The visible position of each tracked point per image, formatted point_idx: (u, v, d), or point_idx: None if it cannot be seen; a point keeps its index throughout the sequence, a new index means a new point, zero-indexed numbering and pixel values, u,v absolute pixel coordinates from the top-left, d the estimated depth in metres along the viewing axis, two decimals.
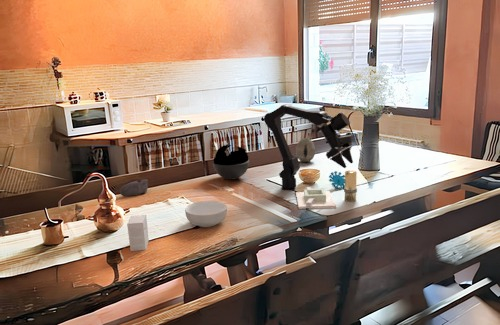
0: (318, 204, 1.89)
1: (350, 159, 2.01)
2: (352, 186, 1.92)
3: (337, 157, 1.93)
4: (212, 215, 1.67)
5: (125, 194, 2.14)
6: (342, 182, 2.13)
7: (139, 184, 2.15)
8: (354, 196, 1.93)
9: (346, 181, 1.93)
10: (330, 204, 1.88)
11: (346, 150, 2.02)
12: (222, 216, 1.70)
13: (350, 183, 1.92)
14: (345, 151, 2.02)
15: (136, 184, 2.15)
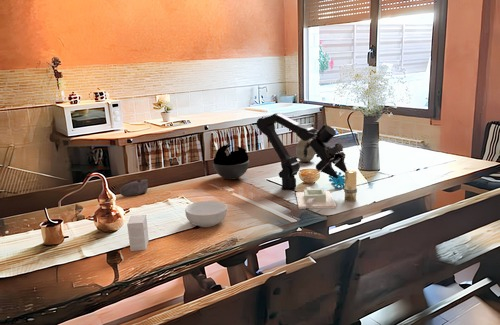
0: (318, 204, 1.89)
1: (345, 169, 1.99)
2: (352, 186, 1.92)
3: (327, 168, 1.93)
4: (212, 215, 1.67)
5: (125, 194, 2.14)
6: (342, 182, 2.13)
7: (139, 184, 2.15)
8: (354, 196, 1.93)
9: (346, 181, 1.93)
10: (330, 204, 1.88)
11: (339, 161, 2.01)
12: (222, 216, 1.70)
13: (350, 183, 1.92)
14: (339, 162, 2.01)
15: (136, 184, 2.15)
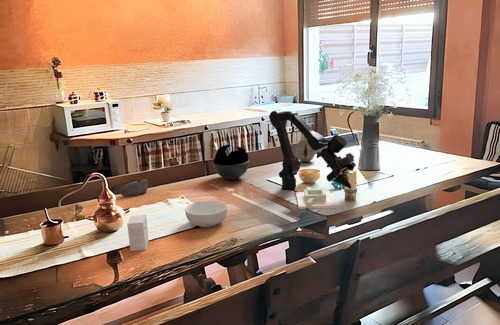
0: (318, 204, 1.89)
1: None
2: (352, 186, 1.92)
3: (340, 178, 1.92)
4: (212, 215, 1.67)
5: (125, 194, 2.14)
6: None
7: (139, 184, 2.15)
8: (354, 196, 1.93)
9: None
10: (330, 204, 1.88)
11: None
12: (222, 216, 1.70)
13: (350, 183, 1.92)
14: None
15: (136, 184, 2.15)
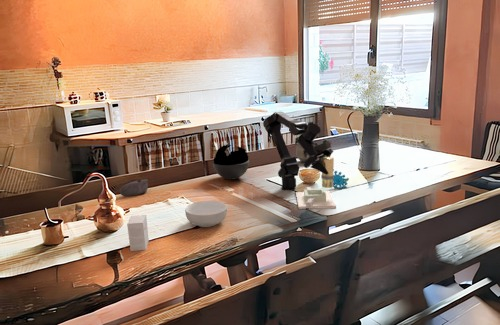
0: (318, 204, 1.89)
1: None
2: (329, 172, 1.91)
3: (317, 164, 1.91)
4: (212, 215, 1.67)
5: (125, 194, 2.14)
6: (341, 182, 2.13)
7: (139, 184, 2.15)
8: (331, 182, 1.93)
9: None
10: (330, 204, 1.88)
11: None
12: (222, 216, 1.70)
13: (327, 169, 1.91)
14: None
15: (136, 184, 2.15)
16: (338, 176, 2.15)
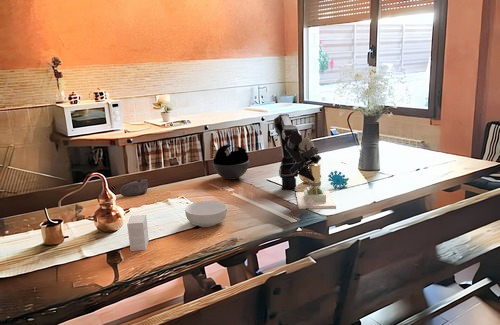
0: (318, 204, 1.89)
1: None
2: (316, 179, 1.92)
3: (304, 171, 1.92)
4: (212, 215, 1.67)
5: (125, 194, 2.14)
6: (341, 182, 2.13)
7: (139, 184, 2.15)
8: (318, 189, 1.93)
9: None
10: (330, 204, 1.88)
11: None
12: (222, 216, 1.70)
13: (313, 176, 1.92)
14: None
15: (136, 184, 2.15)
16: (338, 176, 2.15)
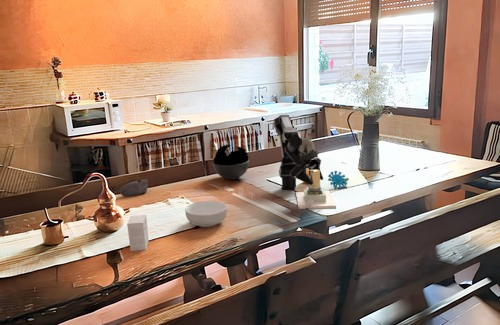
0: (318, 204, 1.89)
1: (320, 176, 1.97)
2: (315, 184, 1.93)
3: (302, 175, 1.91)
4: (212, 215, 1.67)
5: (125, 194, 2.14)
6: (341, 182, 2.13)
7: (139, 184, 2.15)
8: None
9: None
10: (330, 204, 1.88)
11: (315, 167, 1.99)
12: (222, 216, 1.70)
13: (313, 181, 1.92)
14: (314, 168, 1.99)
15: (136, 184, 2.15)
16: (338, 176, 2.15)
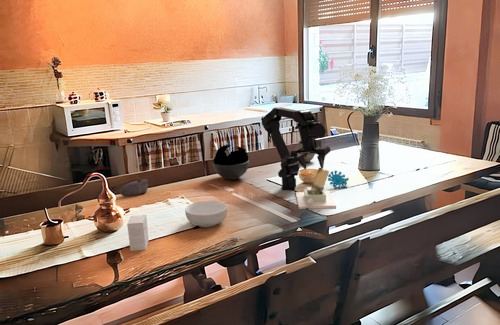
0: (318, 204, 1.89)
1: (305, 165, 2.07)
2: (321, 182, 1.93)
3: (321, 156, 1.99)
4: (212, 215, 1.67)
5: (125, 194, 2.14)
6: (341, 182, 2.14)
7: (139, 184, 2.15)
8: (319, 193, 1.94)
9: (316, 176, 1.94)
10: (330, 204, 1.88)
11: (302, 156, 2.06)
12: (222, 216, 1.70)
13: (319, 179, 1.93)
14: (301, 156, 2.06)
15: (136, 184, 2.15)
16: (338, 176, 2.15)
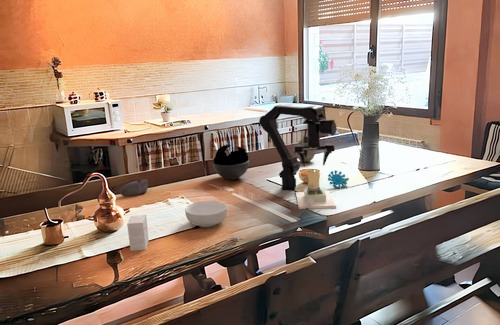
0: (318, 204, 1.89)
1: (304, 162, 2.06)
2: (314, 184, 1.93)
3: None
4: (212, 215, 1.67)
5: (125, 194, 2.14)
6: (341, 181, 2.14)
7: (139, 184, 2.15)
8: None
9: (308, 180, 1.93)
10: (330, 204, 1.88)
11: (302, 152, 2.05)
12: (222, 216, 1.70)
13: (312, 181, 1.92)
14: None
15: (136, 184, 2.15)
16: (338, 176, 2.15)
